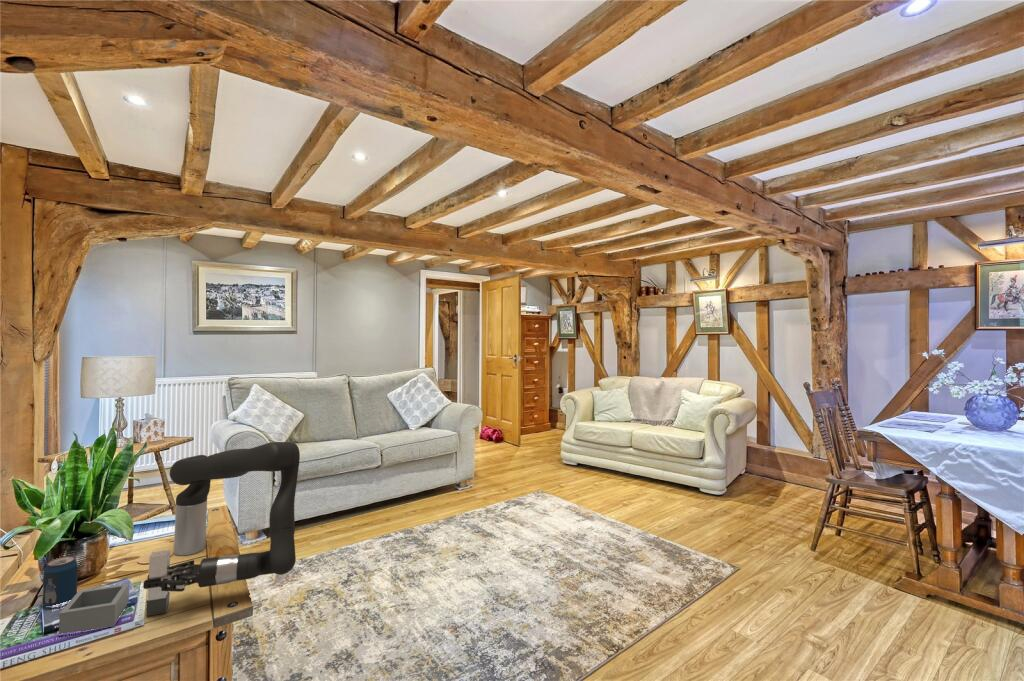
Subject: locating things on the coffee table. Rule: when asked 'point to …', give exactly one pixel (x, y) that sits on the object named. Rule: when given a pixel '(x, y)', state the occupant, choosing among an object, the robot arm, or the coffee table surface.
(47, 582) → the soda can
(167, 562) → the two-tone gray pillar
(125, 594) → the gray open tray
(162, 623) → the coffee table surface
